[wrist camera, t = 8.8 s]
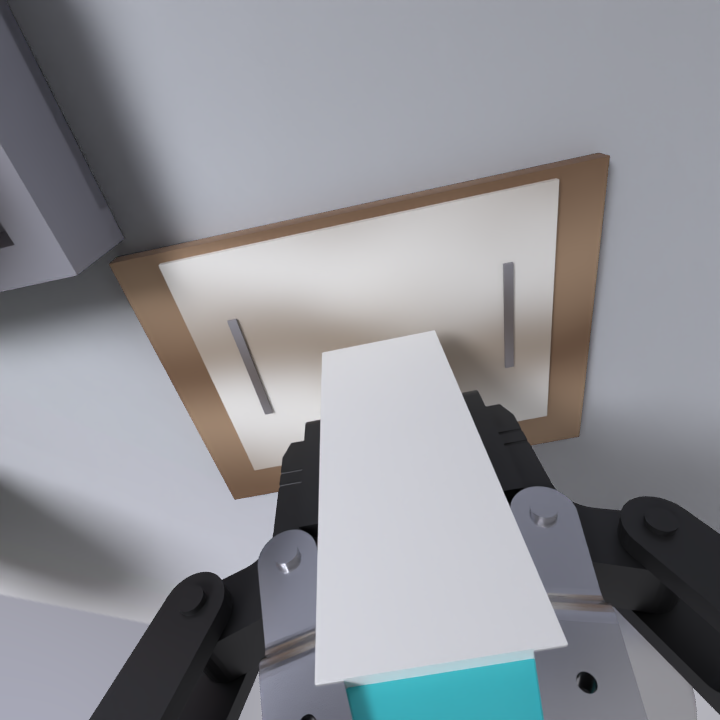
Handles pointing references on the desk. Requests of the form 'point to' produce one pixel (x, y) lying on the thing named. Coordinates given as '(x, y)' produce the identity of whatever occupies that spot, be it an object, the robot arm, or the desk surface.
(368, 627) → the white and teal box
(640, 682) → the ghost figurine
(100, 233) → the button housing
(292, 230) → the clipboard
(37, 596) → the desk surface
